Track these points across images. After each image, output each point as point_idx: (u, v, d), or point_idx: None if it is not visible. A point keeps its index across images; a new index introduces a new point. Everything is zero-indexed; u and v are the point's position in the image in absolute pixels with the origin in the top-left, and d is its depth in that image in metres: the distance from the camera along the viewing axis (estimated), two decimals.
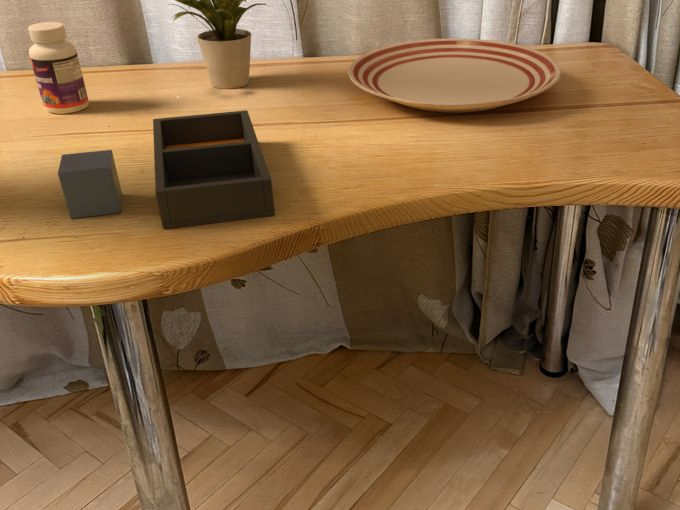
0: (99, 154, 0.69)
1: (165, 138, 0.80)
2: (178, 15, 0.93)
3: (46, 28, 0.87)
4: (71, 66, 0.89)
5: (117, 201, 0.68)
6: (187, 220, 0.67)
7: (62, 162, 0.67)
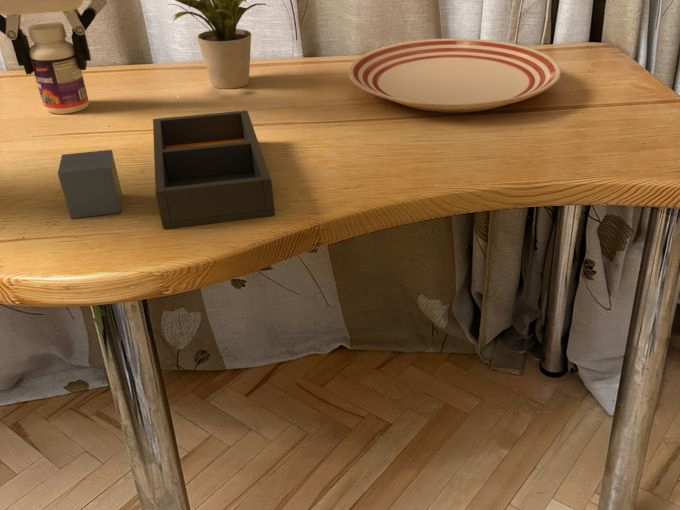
0: (99, 154, 0.69)
1: (165, 138, 0.80)
2: (178, 15, 0.93)
3: (46, 28, 0.87)
4: (71, 66, 0.89)
5: (117, 201, 0.68)
6: (187, 220, 0.67)
7: (62, 162, 0.67)
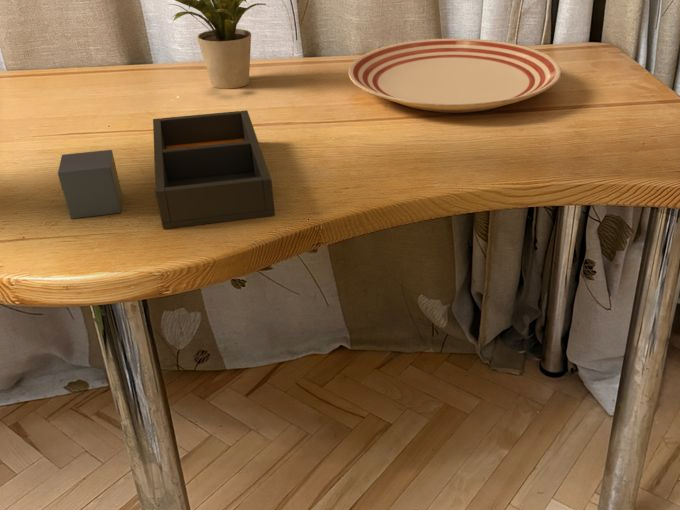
0: (99, 154, 0.69)
1: (165, 138, 0.80)
2: (178, 15, 0.93)
3: None
4: None
5: (117, 201, 0.68)
6: (187, 220, 0.67)
7: (62, 162, 0.67)
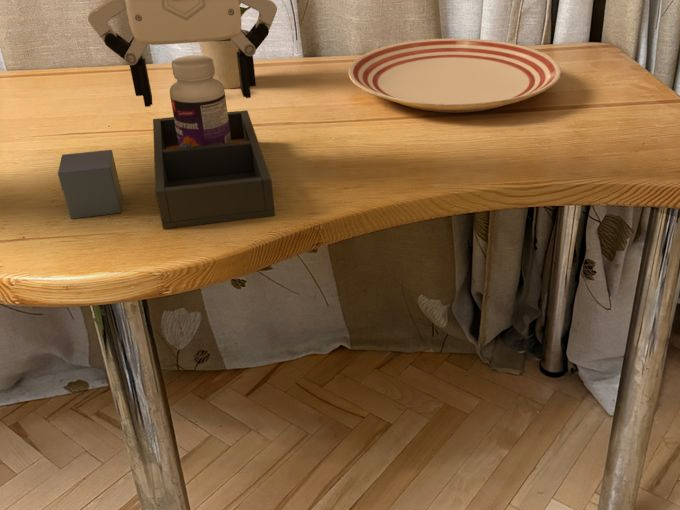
0: (99, 154, 0.69)
1: (165, 138, 0.80)
2: None
3: (194, 64, 0.72)
4: (220, 109, 0.74)
5: (117, 201, 0.68)
6: (187, 220, 0.67)
7: (62, 162, 0.67)
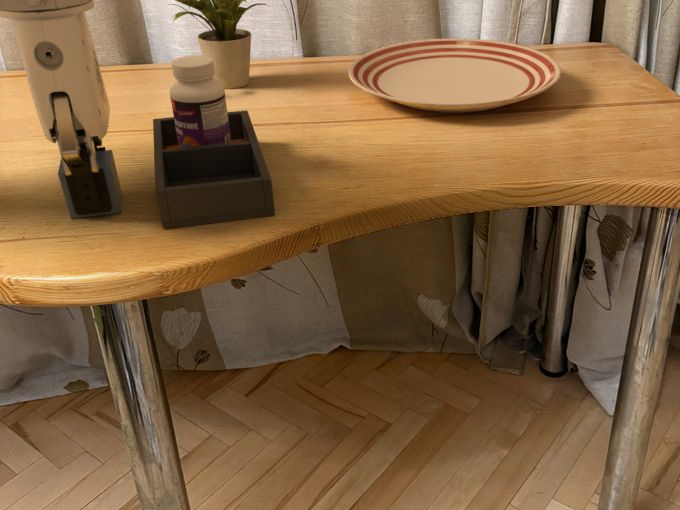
0: (99, 154, 0.69)
1: (165, 138, 0.80)
2: (178, 15, 0.93)
3: (194, 64, 0.72)
4: (220, 109, 0.74)
5: (117, 201, 0.68)
6: (187, 220, 0.67)
7: None
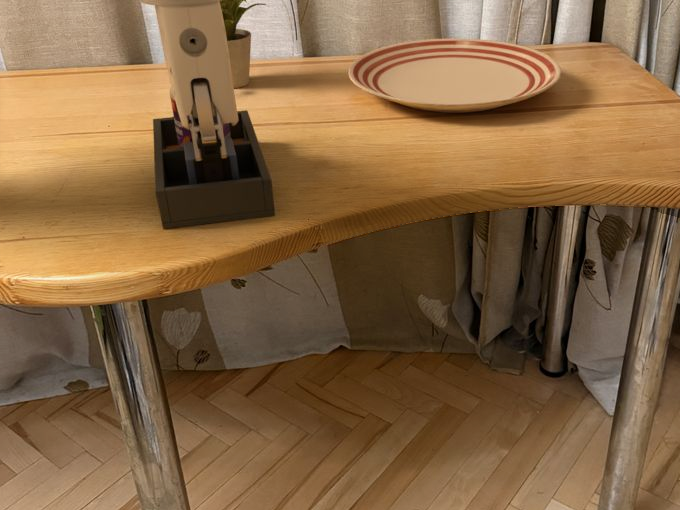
0: None
1: (165, 138, 0.80)
2: None
3: None
4: None
5: None
6: (187, 220, 0.67)
7: (186, 150, 0.68)
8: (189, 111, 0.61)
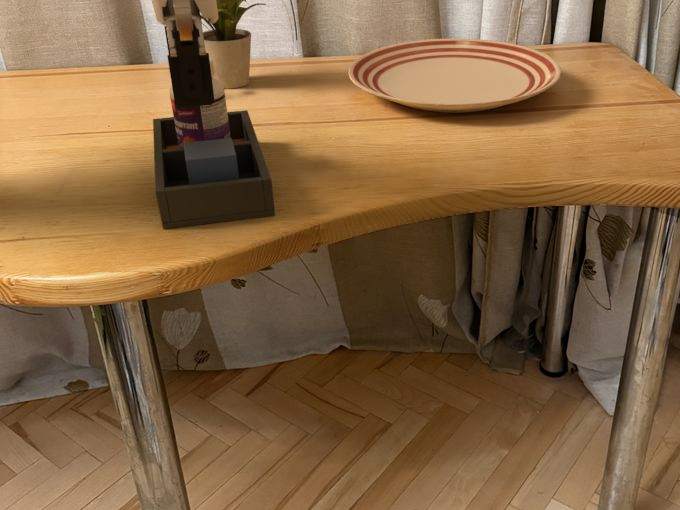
0: (220, 142, 0.70)
1: (165, 138, 0.80)
2: None
3: None
4: (220, 109, 0.74)
5: None
6: (187, 220, 0.67)
7: (186, 150, 0.68)
8: (164, 2, 0.56)
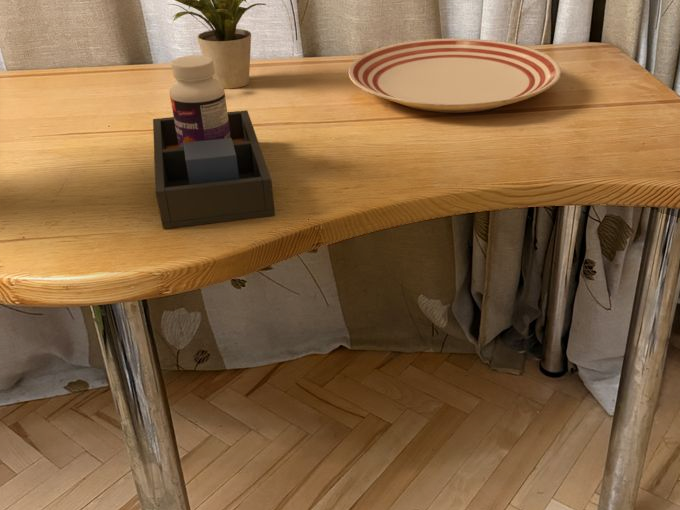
0: (220, 142, 0.70)
1: (165, 138, 0.80)
2: (178, 15, 0.93)
3: (194, 64, 0.72)
4: (220, 109, 0.74)
5: None
6: (187, 220, 0.67)
7: (186, 150, 0.68)
8: None
